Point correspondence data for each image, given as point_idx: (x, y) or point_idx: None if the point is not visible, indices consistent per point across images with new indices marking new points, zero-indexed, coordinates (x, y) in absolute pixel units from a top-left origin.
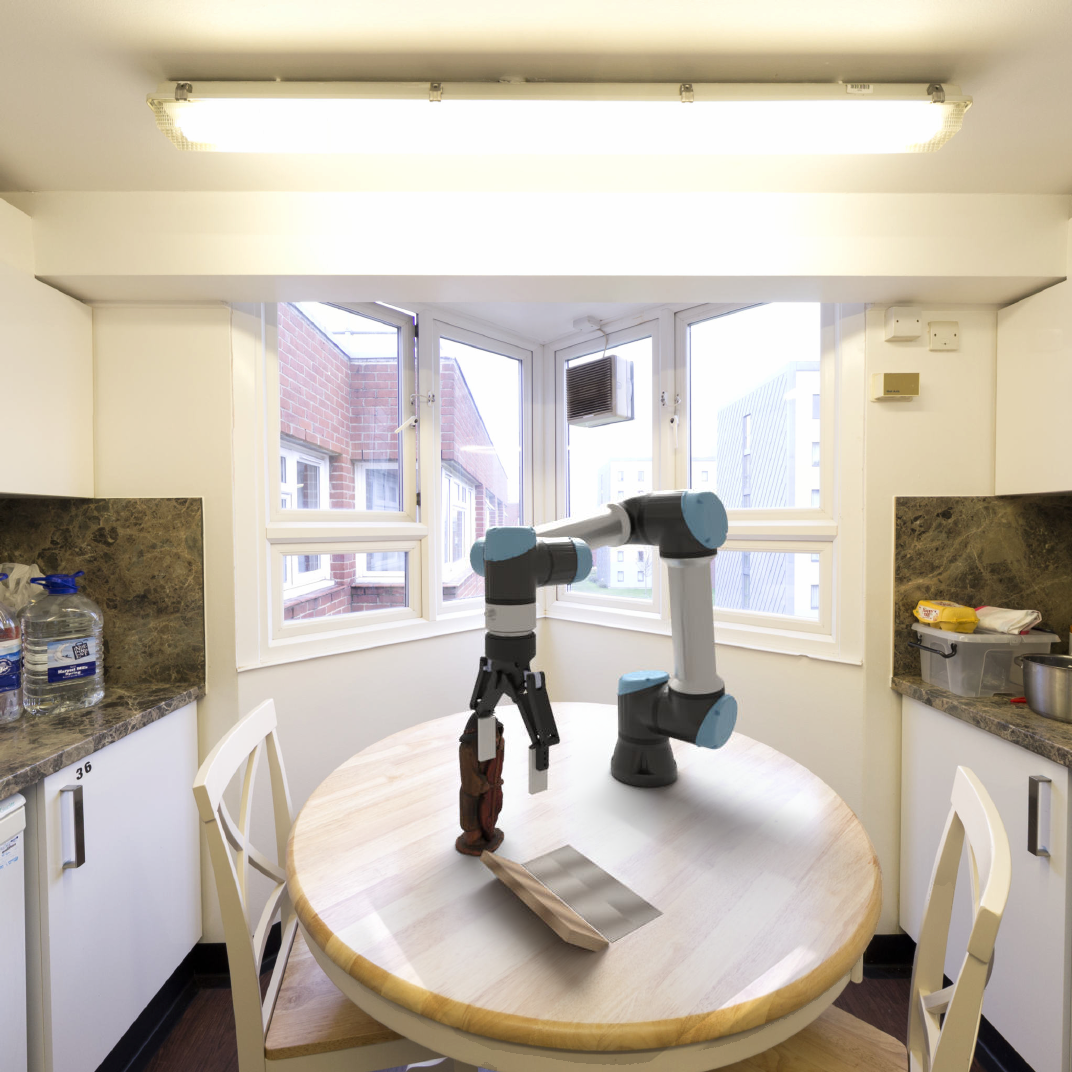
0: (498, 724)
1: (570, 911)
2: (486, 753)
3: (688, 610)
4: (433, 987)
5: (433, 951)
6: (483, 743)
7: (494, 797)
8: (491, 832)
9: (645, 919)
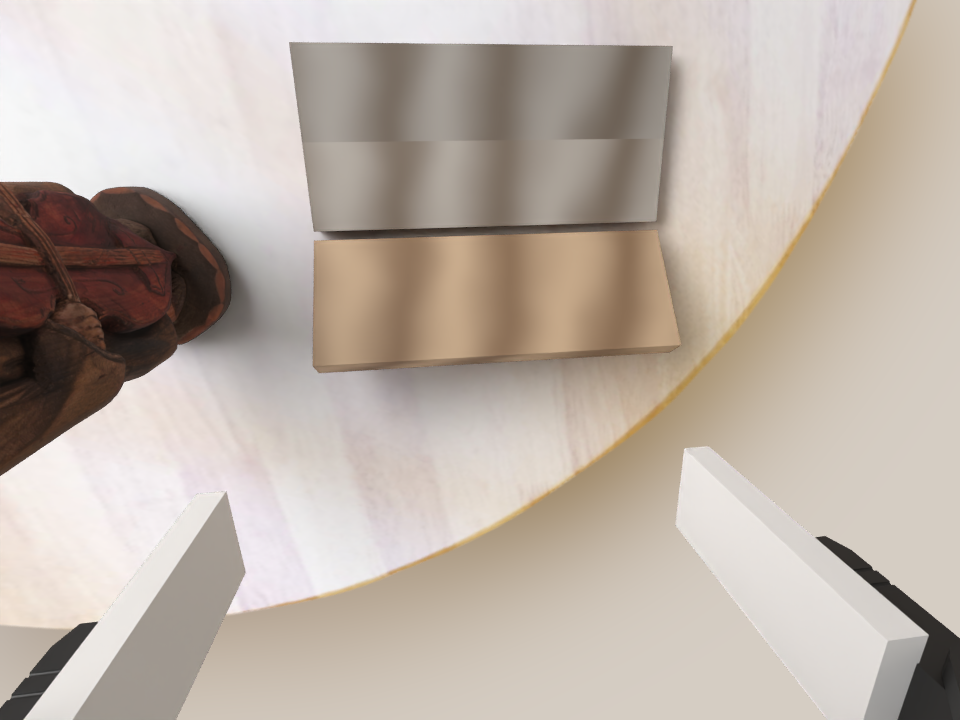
0: None
1: (552, 248)
2: (225, 569)
3: None
4: (517, 502)
5: (448, 480)
6: (199, 641)
7: (87, 255)
8: (165, 258)
9: (658, 103)
